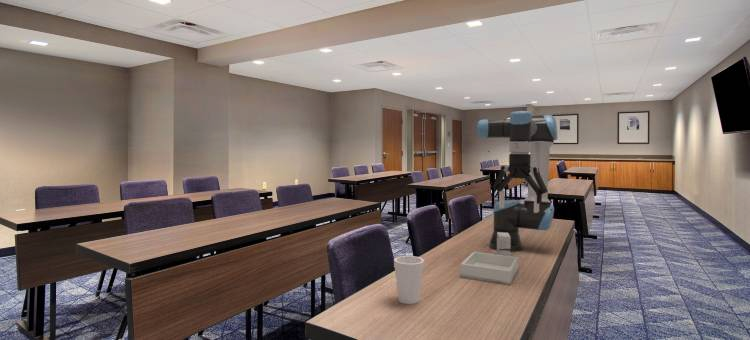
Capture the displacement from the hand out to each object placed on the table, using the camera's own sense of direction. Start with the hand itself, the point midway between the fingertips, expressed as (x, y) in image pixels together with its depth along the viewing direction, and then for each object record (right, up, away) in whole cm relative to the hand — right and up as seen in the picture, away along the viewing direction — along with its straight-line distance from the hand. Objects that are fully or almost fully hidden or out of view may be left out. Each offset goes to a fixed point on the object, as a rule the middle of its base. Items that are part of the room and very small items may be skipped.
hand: (518, 210), depth 147 cm
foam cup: (-43, -27, -22) cm, 55 cm away
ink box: (+2, -25, +23) cm, 33 cm away
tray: (-9, -25, +6) cm, 27 cm away
